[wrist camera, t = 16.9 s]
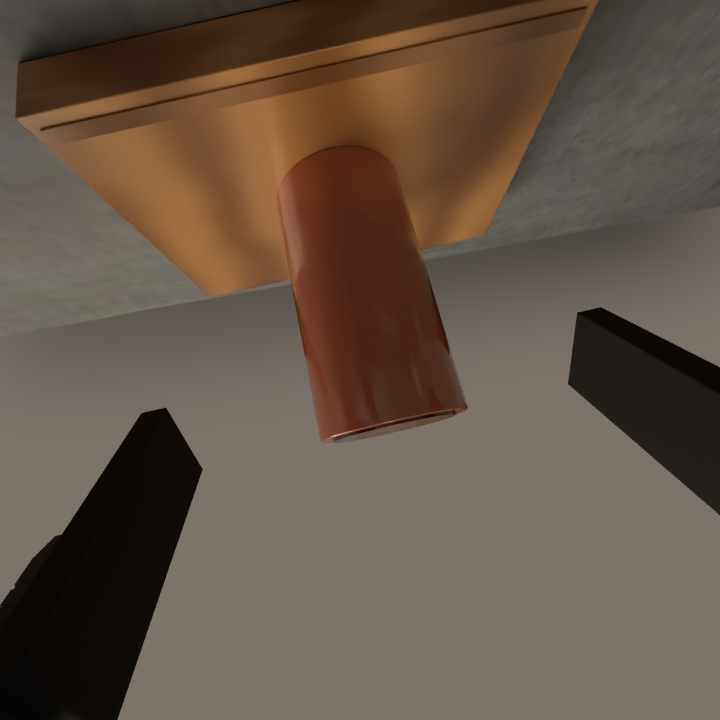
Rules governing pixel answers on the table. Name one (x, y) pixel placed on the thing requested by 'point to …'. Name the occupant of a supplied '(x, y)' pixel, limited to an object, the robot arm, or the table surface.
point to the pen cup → (363, 298)
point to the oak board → (302, 116)
